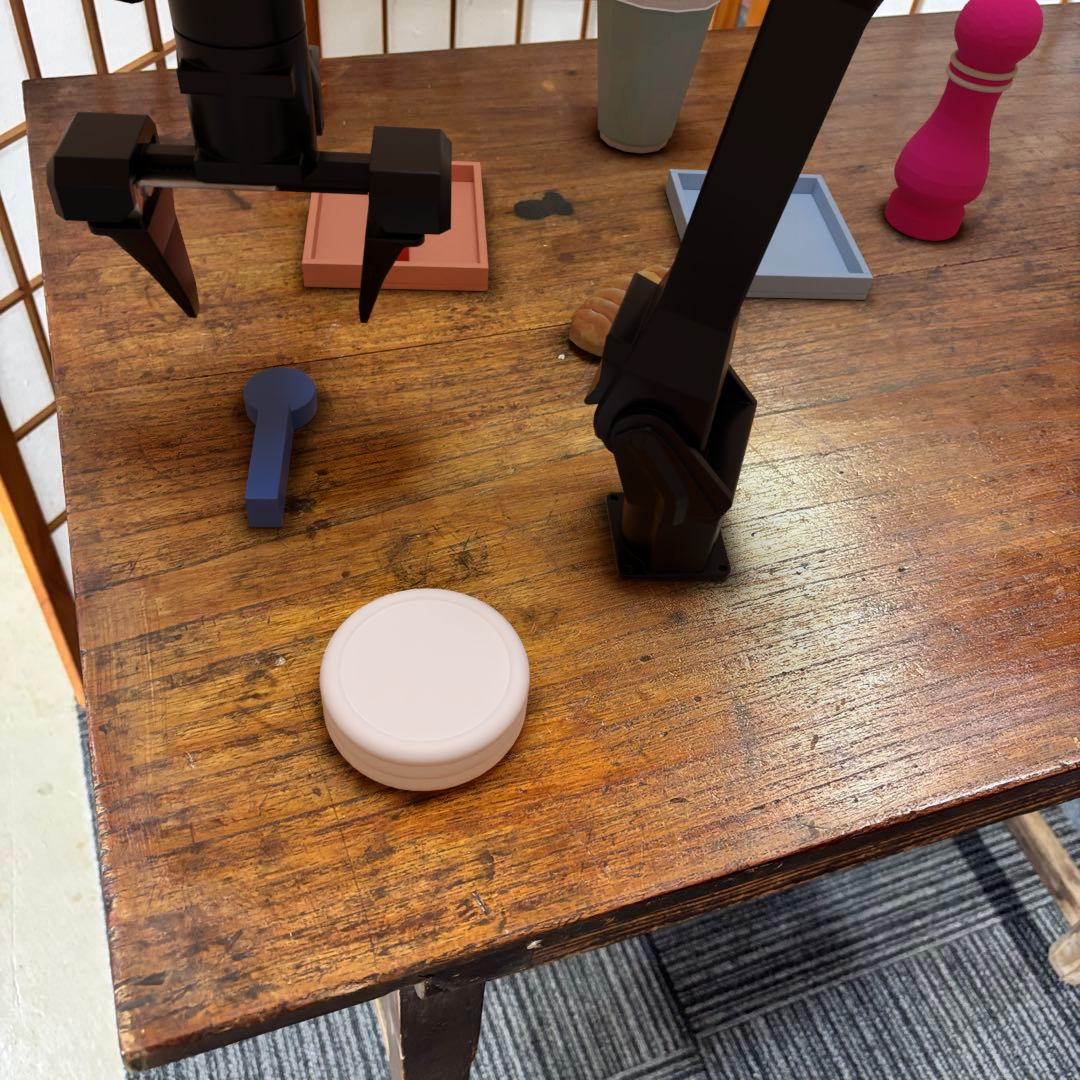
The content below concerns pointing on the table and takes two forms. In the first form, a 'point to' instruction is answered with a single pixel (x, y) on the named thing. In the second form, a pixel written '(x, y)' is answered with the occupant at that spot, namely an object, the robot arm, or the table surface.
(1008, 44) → the pepper mill
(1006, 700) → the table surface
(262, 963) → the table surface
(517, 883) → the table surface
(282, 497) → the blue spoon
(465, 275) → the red tray
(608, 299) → the pastry
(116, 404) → the table surface
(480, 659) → the white round tin
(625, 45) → the disposable coffee cup
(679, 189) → the blue tray
